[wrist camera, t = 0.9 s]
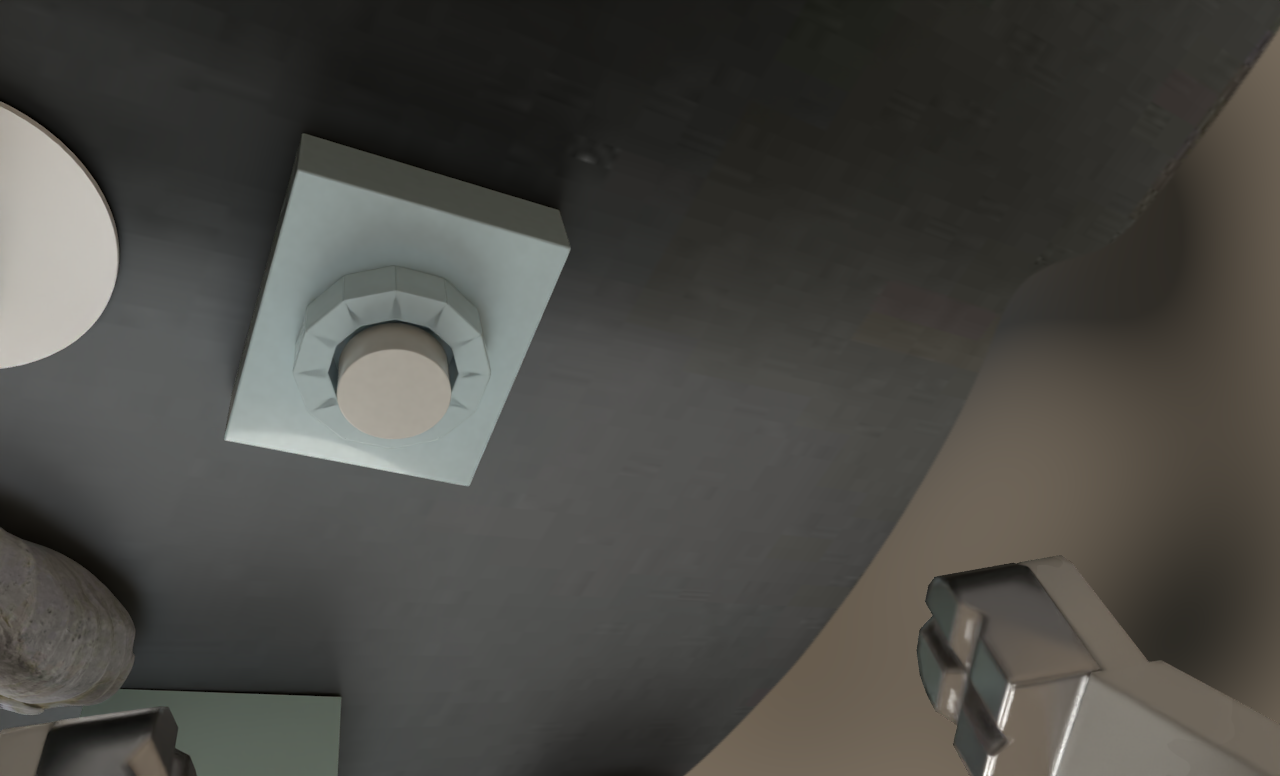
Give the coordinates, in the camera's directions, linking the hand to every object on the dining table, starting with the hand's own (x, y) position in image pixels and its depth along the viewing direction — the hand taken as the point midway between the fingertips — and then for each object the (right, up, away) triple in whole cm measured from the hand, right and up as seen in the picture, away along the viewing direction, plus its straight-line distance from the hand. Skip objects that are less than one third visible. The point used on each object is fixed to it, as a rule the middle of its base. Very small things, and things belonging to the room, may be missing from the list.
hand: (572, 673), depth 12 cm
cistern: (-9, +6, +32) cm, 34 cm away
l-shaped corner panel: (-22, -17, +46) cm, 54 cm away
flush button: (-8, +4, +28) cm, 30 cm away
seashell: (-27, -6, +36) cm, 46 cm away
